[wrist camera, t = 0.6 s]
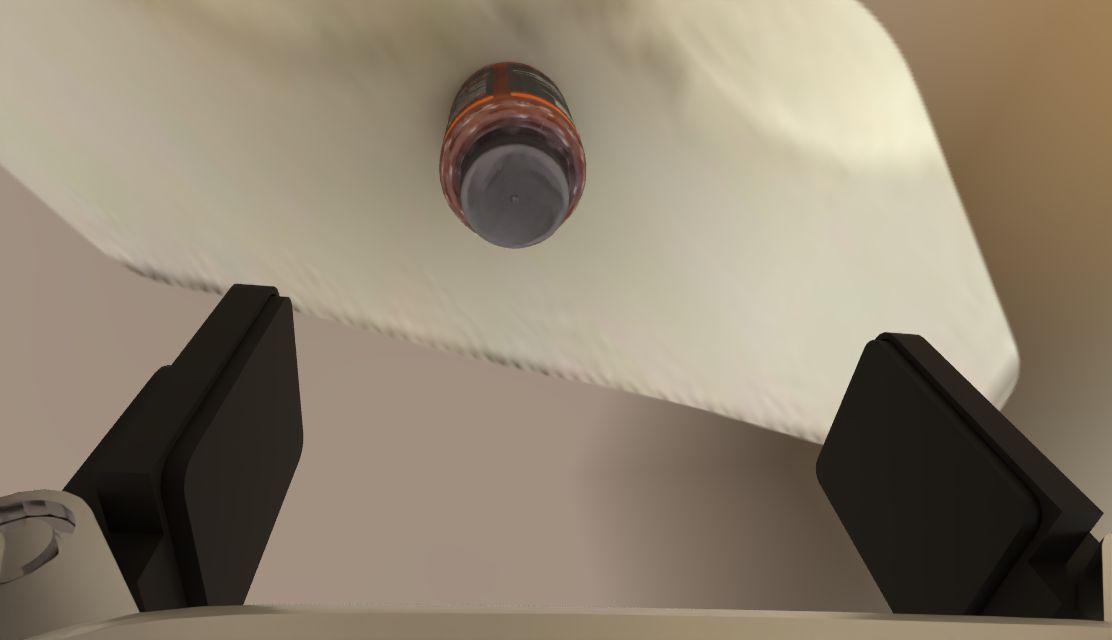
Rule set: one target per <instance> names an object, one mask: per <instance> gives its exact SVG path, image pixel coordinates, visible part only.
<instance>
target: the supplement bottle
mask: <svg viewBox="0 0 1112 640" xmlns="http://www.w3.org/2000/svg"><path fill="white" fill-rule="evenodd" d="M585 180H586V161H585V154H584V150H583V146H582V143H581V140H580V137H579V134H578V132H577V129H576V127H575V125H574V122H573V120H572V117H571V115H570V112H569V109H568V107H567V105H566V102H565V100H564V98H563V96H562V94H561V93H560V91H559V90H558V88H557V87H556V85H555V84H554V83H553V82H552V81H551V80H550V79H549V78H548V77H547V76H545V75H544V74H543V73H541V72H540V71H538V70H536V69H535V68H533V67H530V66H528V65H524V64H519V63H499V64H494V65H490V66H487V67H485V68H483V69H481V70H479V71H478V72H476V73H475V74H474V75H472V76H471V77H470V78H469V79H468V80H467V81H466V82H465V83H464V85H463V86H462V87H461V89H460V90H459V92H458V94H457V96H456V98H455V100H454V103H453V105H452V108H451V112H450V116H449V121H448V125H447V129H446V133H445V137H444V140H443V145H442V149H441V155H440V181H441V185H442V189H443V193H444V196H445V198H446V200H447V202H448V204H449V206H450V208H451V209H452V210H453V212H454V213H455V215H456V216H457V217H458V218H459V219H460V220H461V222H462V223H464V224H465V226H467V227H468V228H470V229H471V230H472V231H473V232H475V233H477V234H478V235H479V236H480V237H482V238H483V239H485V240H486V241H488V242H490V243H492V244H495V245H497V246H501V247H506V248H524V247H529V246H532V245H536V244H538V243H540V242H542V241H544V240H545V239H547V238H548V237H550V236H551V235H552V234H553V233H554V232H555V231H556V230H557V229H558V228H559V226H561V225H562V224H563V223H564V222H565V220H566V219H567V218H568V217H569V216H570V215H571V214H572V212H573V211H574V210H575V208H576V206H577V205H578V203H579V200H580V198H581V196H582V192H583V190H584V186H585Z"/></svg>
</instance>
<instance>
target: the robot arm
mask: <svg viewBox="0 0 1112 640" xmlns="http://www.w3.org/2000/svg"><path fill="white" fill-rule="evenodd" d="M302 447H303V426H302V415H301V403H300V392H299V380H298V368H297V358H296V345H295V335H294V323H293V311H292V303H291V300H290V298H289V297H280V296H279V292H278V290H277V288H276V287H273V286H259V285H246V284H234V285H233V286H232V287H231V288H230V289H229V291H228V292H227V293H226V295H225V296H224V297H223V298H222V300H221V301H220V302H219V304H218V305H217V306H216V308H215V309H214V310H213V312H212V313H211V314H210V316H209V317H208V318H207V319H206V321H205V322H204V323H203V325H202V326H201V328H200V329H199V330H198V331H197V333H196V334H195V335H194V336H193V338H192V339H191V340H190V342H189V343H188V344H187V346H186V347H185V348H184V349H183V351H182V352H181V353H180V355H179V356H178V357H177V359H176V360H175V361H174V363H173V364H172V365H167V366H163V367H161V368H160V369H159V370H158V371H157V372H156V373H154V375H153V376H152V377H151V379H150V380H149V381H148V382H147V384H146V385H145V386H144V388H143V389H142V390H141V391H140V393H139V394H138V395H137V396H136V398H135V399H134V400H133V401H132V403H131V404H130V405H129V407H128V408H127V409H126V410H125V411H124V413H123V414H122V415H121V416H120V418H119V419H118V420H117V422H116V423H115V424H114V426H113V427H112V428H111V429H110V430H109V432H108V433H107V434H106V435H105V437H104V438H103V439H102V441H101V442H100V443H99V444H98V446H97V447H96V448H95V449H94V451H93V452H92V453H91V454H90V456H89V457H88V458H87V460H86V461H85V462H84V463H83V465H82V466H81V467H80V469H79V470H78V471H77V472H76V473H75V475H74V476H73V477H72V479H71V480H70V481H69V482H68V484H67V485H66V486H65V487H64V489H63V490H62V491H56V490H46V489H43V490H33V491H25V492H18V493H14V494H11V495H7V496H3V497H0V640H1112V533H1110V534H1108V535H1106V536H1105V537H1104V538H1103V539H1102V540H1101V542H1100V543H1099V542H1098V541H1097V540H1096V539H1095V538H1094V536H1092V534H1091V533H1090V531H1091V530H1092V528H1093V527H1094V526H1095V524H1096V523H1097V522H1098V520H1099V519H1100V518H1101V516H1102V515H1103V512H1102V511H1101V510H1100V509H1099V508H1098V507H1097V506H1096V505H1095V504H1094V503H1093V502H1092V501H1090V499H1089V498H1088V497H1087V496H1086V495H1085V494H1083V493H1082V492H1081V491H1080V490H1079V489H1078V488H1077V487H1076V486H1075V485H1074V484H1073V483H1072V482H1071V481H1070V480H1069V479H1068V478H1067V477H1066V476H1065V475H1064V474H1063V473H1062V472H1061V471H1060V470H1059V469H1058V468H1057V467H1056V466H1055V465H1054V464H1053V463H1052V462H1051V461H1050V460H1048V459H1047V457H1046V456H1044V455H1043V454H1042V453H1041V452H1040V451H1039V450H1038V449H1037V448H1036V447H1035V446H1034V445H1033V444H1032V443H1031V442H1030V441H1029V440H1028V439H1027V438H1026V437H1025V436H1024V435H1023V434H1022V433H1021V432H1020V431H1019V430H1018V429H1017V428H1016V427H1015V426H1014V425H1013V424H1012V423H1011V422H1010V421H1008V419H1006V418H1005V417H1004V416H1003V415H1002V414H1001V413H1000V412H999V411H998V410H997V409H996V408H995V407H994V406H993V405H992V404H991V403H990V402H989V401H988V400H987V399H986V398H985V397H984V396H983V395H982V394H981V393H980V392H979V391H978V390H977V389H976V388H975V387H974V386H973V385H972V384H971V383H970V382H969V381H967V380H966V379H965V378H964V377H963V376H962V375H961V374H960V373H959V372H958V371H957V370H956V369H955V368H954V367H953V366H952V365H951V364H950V363H949V362H948V361H947V360H946V359H945V358H944V357H943V356H942V355H941V354H940V353H939V352H938V351H937V350H936V349H935V348H934V347H933V346H932V345H931V344H929V343H928V342H927V341H926V340H925V339H924V338H923V337H921V336H920V335H914V334H901V333H888V332H884V333H882V334H880V335H879V336H878V337H877V338H876V339H875V340H872V341H869V342H868V343H867V345H866V346H865V348H864V350H863V353H862V355H861V357H860V360H859V362H858V364H857V367H856V369H855V372H854V374H853V376H852V379H851V381H850V383H849V386H848V388H847V391H846V393H845V395H844V398H843V400H842V402H841V405H840V407H839V410H838V412H837V414H836V417H835V419H834V421H833V424H832V426H831V429H830V431H829V433H828V436H827V438H826V440H825V443H824V445H823V447H822V450H821V452H820V455H819V457H818V460H817V463H816V474H817V479H818V481H819V483H820V485H821V487H822V489H823V490H824V492H825V494H826V496H827V497H828V499H829V501H830V503H831V504H832V506H833V508H834V510H835V511H836V513H837V515H838V517H839V518H840V520H841V522H842V524H843V525H844V527H845V529H846V531H847V532H848V534H849V536H850V538H851V540H852V541H853V543H854V545H855V547H856V548H857V550H858V552H859V554H860V555H861V557H862V559H863V561H864V562H865V564H866V566H867V568H868V569H869V571H870V573H871V575H872V576H873V578H874V580H875V582H876V583H877V585H878V587H879V589H880V591H881V592H882V594H883V596H884V598H885V599H886V601H887V603H888V605H889V606H890V608H891V610H892V612H893V613H894V614H888V613H887V614H886V613H850V612H809V611H762V610H716V609H715V610H714V609H665V608H616V607H553V606H487V605H486V606H485V605H480V606H479V605H421V604H419V605H418V604H267V605H243V604H244V601H245V599H246V596H247V594H248V591H249V589H250V585H251V583H252V581H253V578H254V576H255V573H256V570H257V568H258V565H259V563H260V560H261V558H262V555H263V552H264V550H265V547H266V545H267V542H268V540H269V537H270V534H271V531H272V529H273V527H274V524H275V521H276V519H277V516H278V513H279V511H280V509H281V506H282V503H283V501H284V498H285V496H286V493H287V490H288V488H289V485H290V483H291V480H292V478H293V475H294V472H295V470H296V467H297V465H298V462H299V459H300V456H301V452H302Z"/></svg>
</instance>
